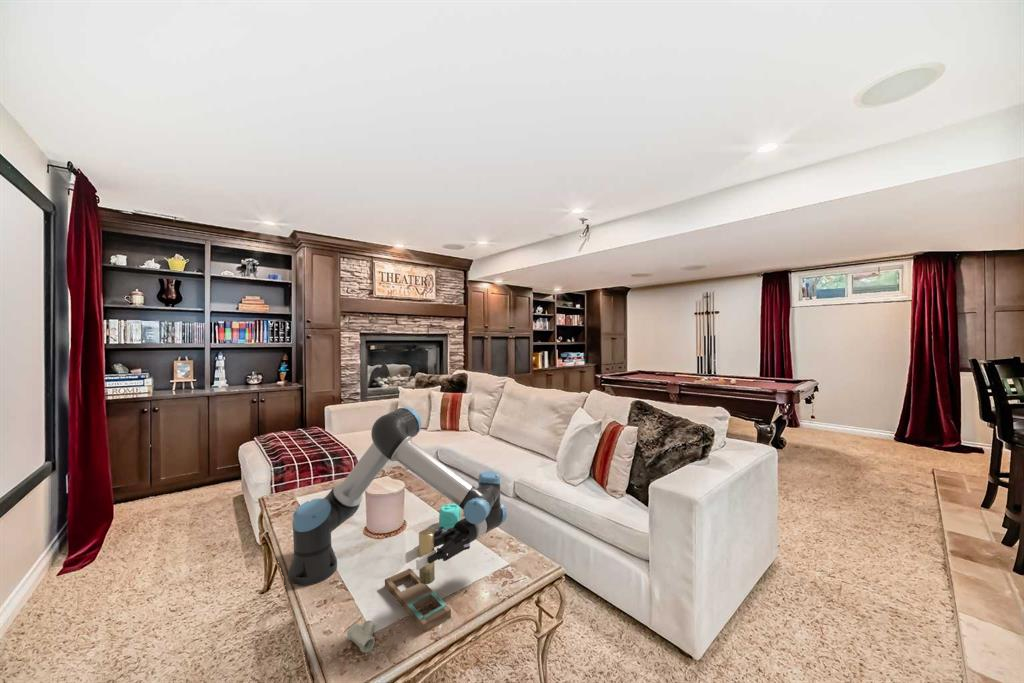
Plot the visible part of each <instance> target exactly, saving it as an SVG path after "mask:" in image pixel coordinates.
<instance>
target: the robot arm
mask: <svg viewBox="0 0 1024 683" xmlns="http://www.w3.org/2000/svg"><path fill="white" fill-rule="evenodd" d="M371 427H372V428H371V440H372V443H371V445H370V446H369V447H368V449H367V450H366V451H365V452H364V454H363V455H362V456H361V458H360V459H359V460H358V462H357V463H356V464H355V465H354V467H353V468H352V469H351V470H350V472H349V473H348V475H347V476H346V477H345V479H344V480H342V481H339V482H337V483H336V484H335V485H334V486H333V487H332V489H331V490H330V491H329V493H327V495H326V496H325V497H323V498H314V499H311V500H310V501H309V500H308V501H305V502H303V503H301V504H300V505H299V506H297V508H296V509H295V510H294V513H293V517H292V518H293V520H292V534H293V535H292V536H293V537H292V538H293V556H292V559H291V562H290V565H289V569H288V581H289V582H290V583H291V584H293V585H296V586H310V585H313V584H317V583H319V582H323V581H325V580H326V579H328V578H330V577H331V576H332V575H333V574H335V572H336V571H337V568H338V559H337V556H336V554H335V551H334V548H333V546H332V532H333V531H335V530H336V529H337V528H338V527H340V526H341V525H342V524H344V523H345V522H346V521H347V520H348V519H350V518H352V517H353V516H354V515H355V514H356V513H357V511H358V509H359V508H360V505H361V503H362V500H363V494H364V492H365V491H366V490H367V489H368V487H369V486H370V485H371V484H372V482H373V481H374V480H375V478H376V477H377V476H378V475H379V473H380V472H381V471H382V469H384V468H385V466H386V464H388V462H389V460H390V462H398V463H399V464H401V465H402V466H403V467H405V469H408V470H409V471H410V472H412V473H413V474H414V475H416V476H417V477H418V478H420V479H421V480H422V481H424V482H425V483H426V484H428V485H429V486H431V487H432V488H433V489H435V490H436V491H437V492H438V493H440V494H441V495H443V496H444V497H445V498H447V499H449V501H451V502H453V504H456V505H458V506H459V507H460V508H461V509H462V510H463V511H462V513H463V516H464V518H462V519H461V520H460V521H458V522H457V523H456V524H455V526H454V527H453V528H450V529H448V530H444V527H440V526H439V528H438V529H437V530H435V531H434V548H436V549H434V550H433V551H431V552H429V553H427V554H426V555H424V556H422V557H420V558H419V545H417V546H416V547H413V548H412V549H411V550H408V551H407V552H406V553H405V557H404V558H405V559H404V560H405V563H406V564H409V563H410V562H412V561H414V560H416V561H415V562H416V567H415V568H416V570H417V571H419V569H421V568H422V567H424V566H426V565H428V564H429V563H432V562H434V563H435V562H436V561H440V560H442V561H443V562H446V561H448V560H450V559H452V558H453V557H455V556H456V555H459V554H460V553H462V552H463V551H466V550H469V549H470V548H471V543H472V542H474V541H475V540H478V539H479V538H480V537H481V536H483V535H485V534H487V533H489V532H491V531H492V530H494V529H496V528H498V527H500V526H501V525H502V524H504V523H505V521H506V519H507V517H508V511H507V510H506V507H505V505H504V504H503V503H502V502H501V484H502V483H501V476H500V474H499V473H498V472H497V471H492V470H487V471H484V472H483V471H482V472H480V473H479V475H478V481H477V483H478V486H477V487H475V486H473V485H472V484H471V483H470V482H468V481H467V480H466V479H464V478H463V477H461V476H460V475H458V474H457V473H456V472H455V471H453V470H452V469H450V468H449V467H448V466H446V464H444V463H443V462H441V461H440V460H438V459H437V458H436V457H434V456H432V455H431V453H429V452H427V451H426V450H424V449H423V448H422V447H421V446H419V445H418V444H416V443H415V442H413V440H412V438H414V437H416V436H417V435H418V433H419V432H420V431H421V428H422V419H421V416H420V414H419V413H418V412H417V411H416V410H415V409H413V407H412V408H411V407H406V406H405V407H404V406H403V407H398V408H396V409H395V410H394V411H392V412H389V413H387V414H386V413H385V414H384V415H382V416H380V417H378V418H377V419H376V420H375V421H374V423H373V425H372V426H371ZM439 546H441V547H439Z"/></svg>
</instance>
